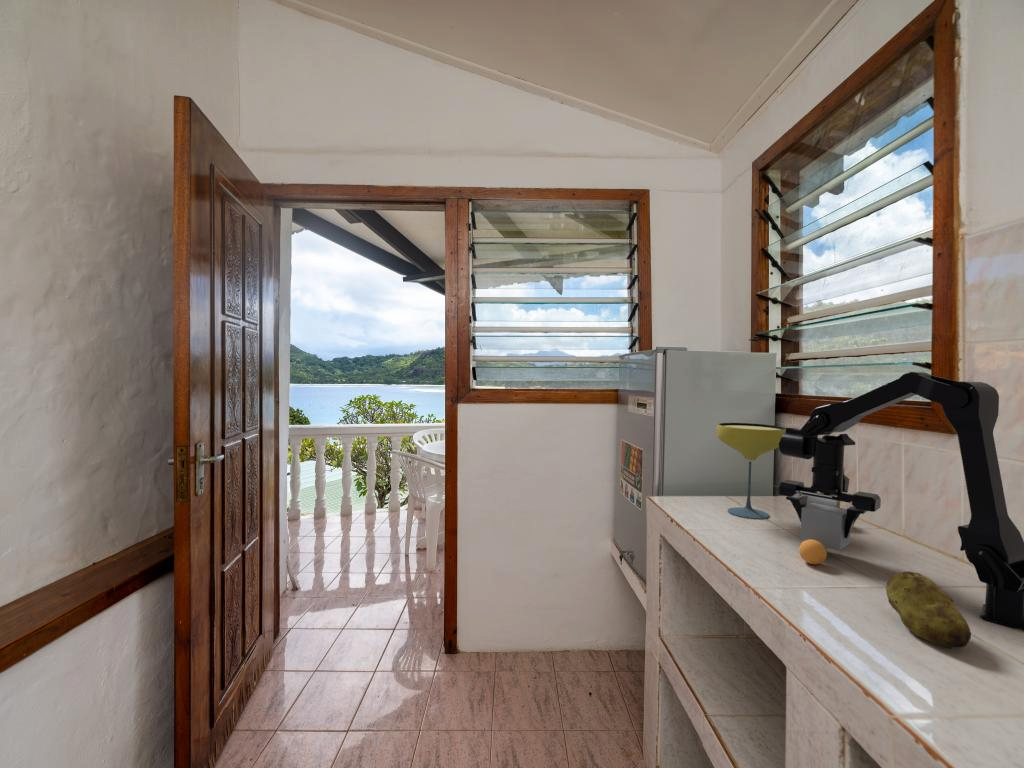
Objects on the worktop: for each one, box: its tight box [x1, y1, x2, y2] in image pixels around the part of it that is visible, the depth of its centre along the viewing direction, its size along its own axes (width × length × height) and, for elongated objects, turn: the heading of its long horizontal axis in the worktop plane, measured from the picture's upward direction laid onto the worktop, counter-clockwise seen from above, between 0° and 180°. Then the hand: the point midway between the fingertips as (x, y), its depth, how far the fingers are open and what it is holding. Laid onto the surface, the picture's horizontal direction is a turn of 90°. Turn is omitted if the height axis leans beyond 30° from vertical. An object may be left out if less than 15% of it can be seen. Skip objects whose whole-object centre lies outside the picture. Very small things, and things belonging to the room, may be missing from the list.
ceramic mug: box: [806, 495, 841, 508], centre depth 138 cm, size 11×8×8 cm
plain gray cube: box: [799, 503, 852, 551], centre depth 112 cm, size 8×8×7 cm
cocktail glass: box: [716, 422, 787, 520], centre depth 143 cm, size 18×18×25 cm
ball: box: [798, 540, 828, 565], centre depth 106 cm, size 5×5×5 cm
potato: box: [885, 571, 972, 649], centre depth 79 cm, size 8×13×8 cm, turn 158°
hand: (825, 533), depth 111 cm, fingers closed on plain gray cube, 8 cm apart
